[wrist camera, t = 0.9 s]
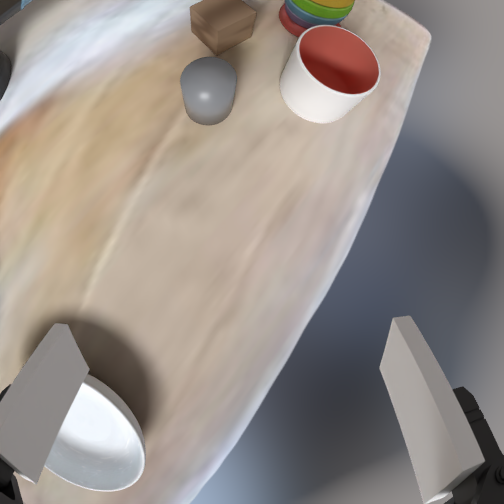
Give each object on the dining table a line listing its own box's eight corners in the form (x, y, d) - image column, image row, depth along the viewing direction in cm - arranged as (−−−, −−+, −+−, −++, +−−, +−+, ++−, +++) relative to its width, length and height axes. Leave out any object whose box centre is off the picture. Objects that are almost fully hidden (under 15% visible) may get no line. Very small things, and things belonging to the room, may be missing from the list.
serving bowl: (152, 367, 36) (142, 391, 30) (154, 475, 37) (149, 503, 30) (22, 337, 34) (-3, 352, 27) (41, 445, 35) (26, 466, 28)
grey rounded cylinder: (179, 92, 35) (174, 65, 28) (224, 79, 36) (227, 51, 29) (192, 131, 35) (188, 109, 29) (238, 117, 36) (244, 94, 29)
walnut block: (191, 31, 34) (189, 6, 29) (225, 14, 35) (227, -11, 29) (216, 56, 35) (217, 31, 29) (251, 37, 36) (256, 12, 30)
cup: (345, 70, 37) (375, 36, 28) (349, 131, 38) (385, 105, 28) (277, 58, 36) (295, 17, 26) (277, 121, 37) (297, 87, 27)
